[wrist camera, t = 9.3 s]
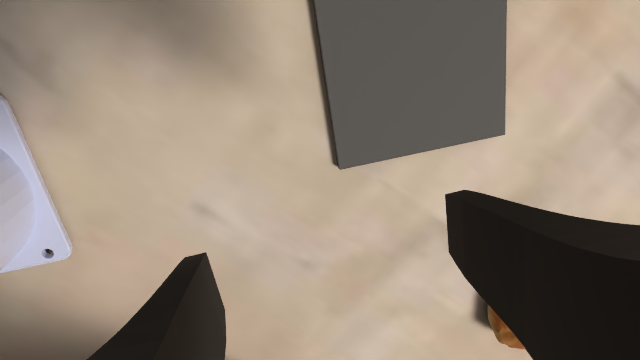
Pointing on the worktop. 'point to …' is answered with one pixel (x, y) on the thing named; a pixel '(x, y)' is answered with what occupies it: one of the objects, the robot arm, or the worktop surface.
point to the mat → (411, 74)
